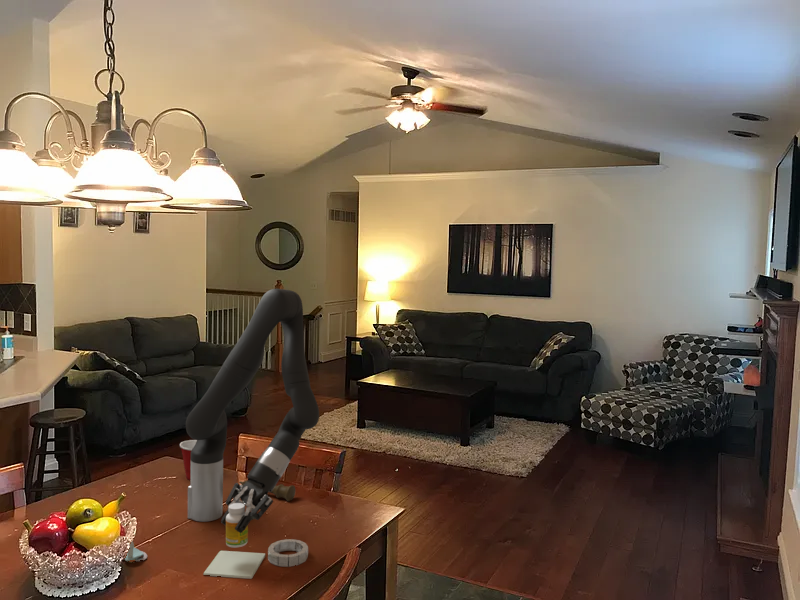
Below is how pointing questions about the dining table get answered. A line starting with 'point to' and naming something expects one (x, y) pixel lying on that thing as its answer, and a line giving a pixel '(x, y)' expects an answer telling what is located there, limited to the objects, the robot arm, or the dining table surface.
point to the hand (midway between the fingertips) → (230, 527)
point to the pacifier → (135, 554)
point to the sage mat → (235, 564)
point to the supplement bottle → (232, 520)
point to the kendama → (281, 491)
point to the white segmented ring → (287, 559)
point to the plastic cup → (187, 455)
